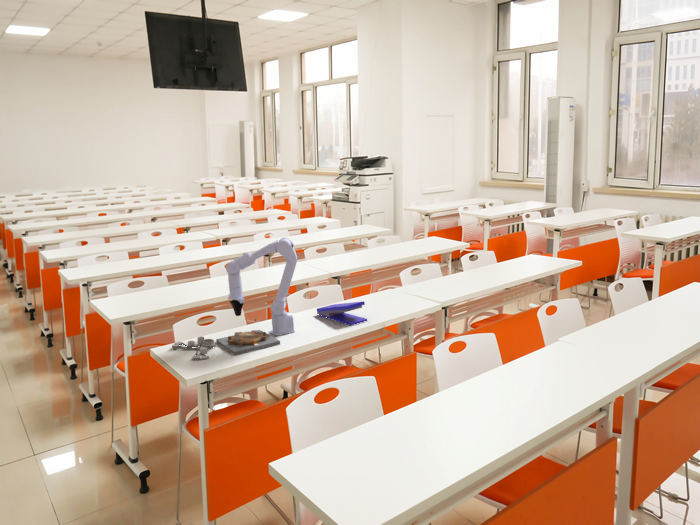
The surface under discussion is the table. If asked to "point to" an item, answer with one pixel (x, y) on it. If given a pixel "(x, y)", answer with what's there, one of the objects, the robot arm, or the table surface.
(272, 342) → the board
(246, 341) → the brown flat round piece
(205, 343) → the pulley system
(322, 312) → the stapler
